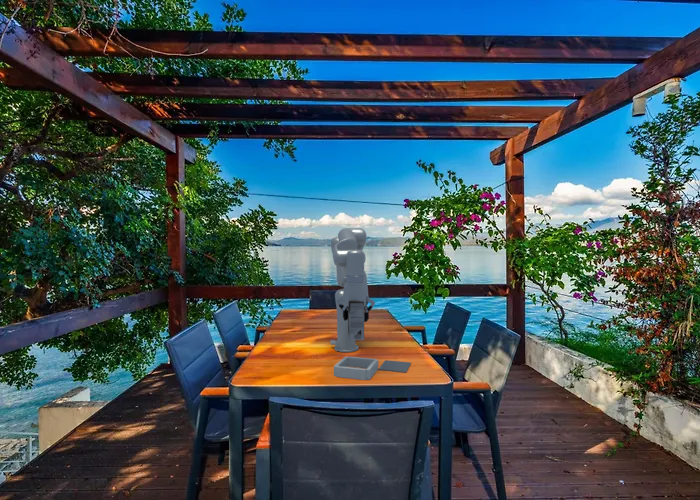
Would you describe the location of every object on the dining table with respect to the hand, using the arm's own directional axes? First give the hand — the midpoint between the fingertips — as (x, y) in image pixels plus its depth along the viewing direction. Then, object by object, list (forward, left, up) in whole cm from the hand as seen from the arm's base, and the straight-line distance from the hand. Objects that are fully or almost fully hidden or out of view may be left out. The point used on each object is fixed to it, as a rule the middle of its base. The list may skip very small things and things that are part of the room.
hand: (355, 320), depth 148 cm
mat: (+14, +11, -22) cm, 28 cm away
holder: (0, -1, -22) cm, 22 cm away
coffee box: (0, 0, -7) cm, 7 cm away
